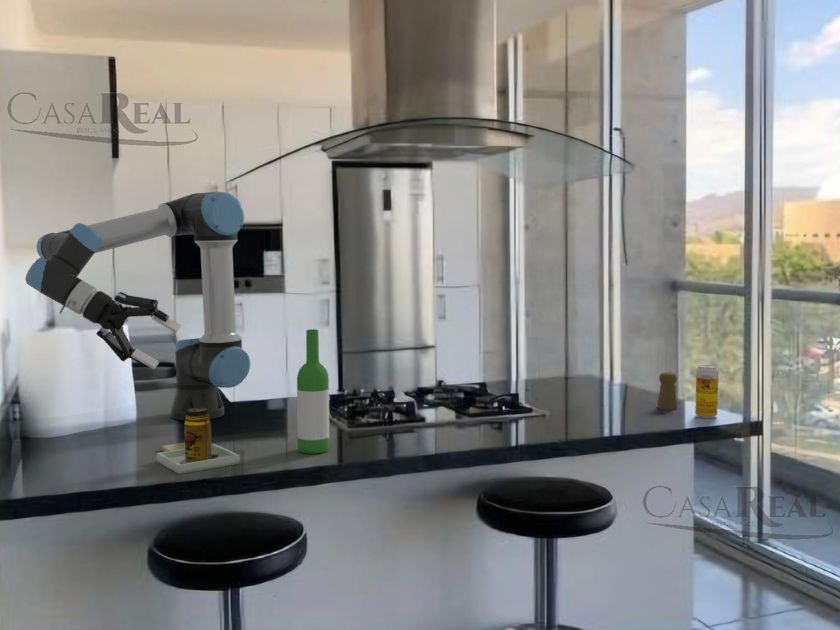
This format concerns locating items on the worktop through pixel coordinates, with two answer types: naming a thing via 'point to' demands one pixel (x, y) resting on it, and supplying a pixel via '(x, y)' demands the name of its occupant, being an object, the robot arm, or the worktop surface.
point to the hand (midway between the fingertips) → (167, 347)
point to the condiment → (198, 436)
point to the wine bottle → (312, 400)
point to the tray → (177, 456)
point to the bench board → (173, 447)
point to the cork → (667, 391)
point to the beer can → (706, 391)
